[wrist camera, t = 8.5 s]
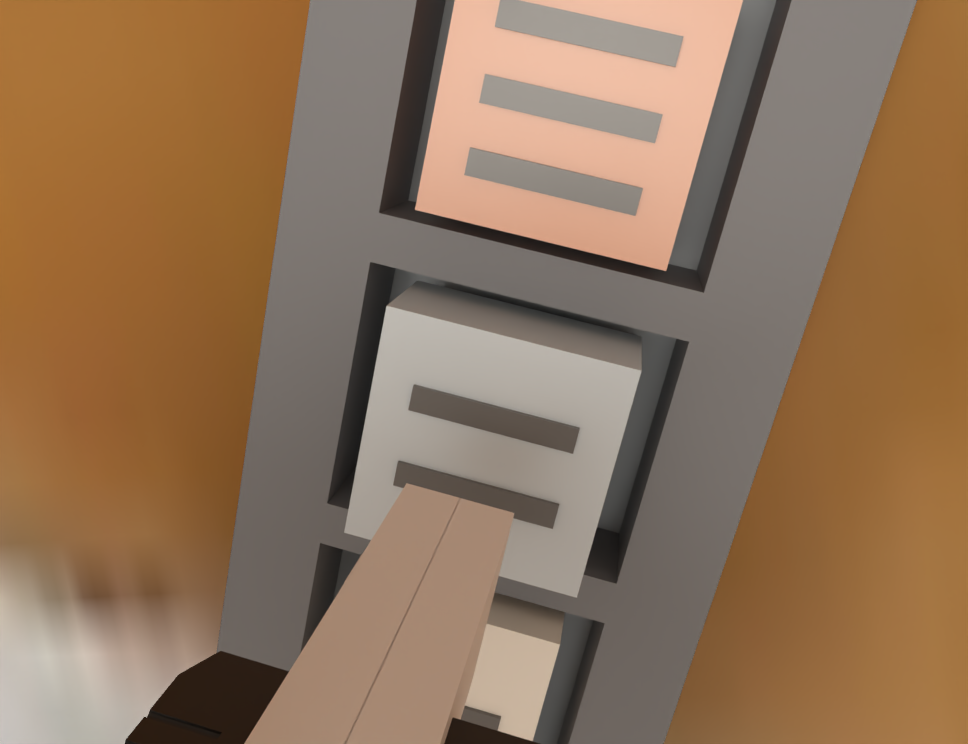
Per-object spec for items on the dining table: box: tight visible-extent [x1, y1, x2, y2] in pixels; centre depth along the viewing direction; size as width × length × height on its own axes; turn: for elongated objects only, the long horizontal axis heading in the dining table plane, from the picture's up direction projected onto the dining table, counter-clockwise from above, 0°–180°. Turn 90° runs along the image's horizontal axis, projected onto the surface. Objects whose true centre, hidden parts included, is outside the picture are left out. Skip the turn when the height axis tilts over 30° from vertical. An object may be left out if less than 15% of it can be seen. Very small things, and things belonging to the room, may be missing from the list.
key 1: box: [344, 555, 565, 741], centre depth 21 cm, size 5×5×3 cm
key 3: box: [415, 0, 743, 271], centre depth 17 cm, size 5×5×3 cm
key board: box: [217, 0, 917, 744], centre depth 21 cm, size 11×22×4 cm, turn 168°
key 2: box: [344, 281, 642, 598], centre depth 19 cm, size 5×5×3 cm
